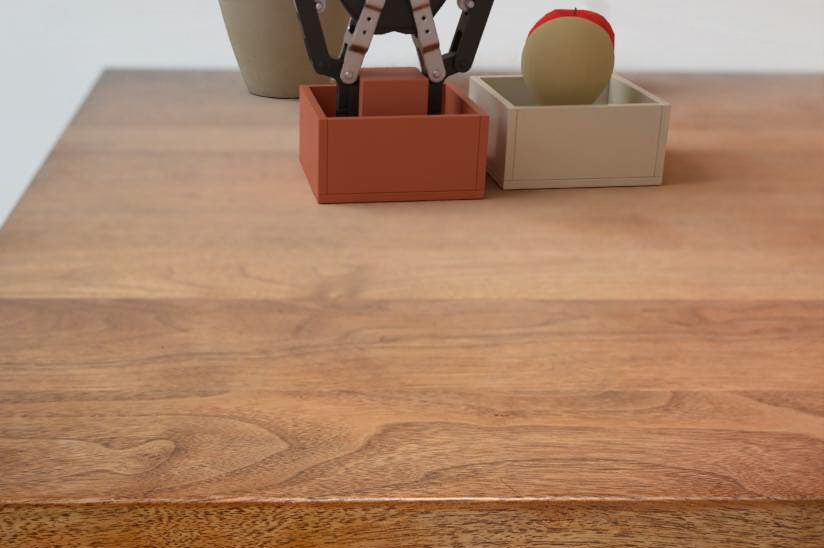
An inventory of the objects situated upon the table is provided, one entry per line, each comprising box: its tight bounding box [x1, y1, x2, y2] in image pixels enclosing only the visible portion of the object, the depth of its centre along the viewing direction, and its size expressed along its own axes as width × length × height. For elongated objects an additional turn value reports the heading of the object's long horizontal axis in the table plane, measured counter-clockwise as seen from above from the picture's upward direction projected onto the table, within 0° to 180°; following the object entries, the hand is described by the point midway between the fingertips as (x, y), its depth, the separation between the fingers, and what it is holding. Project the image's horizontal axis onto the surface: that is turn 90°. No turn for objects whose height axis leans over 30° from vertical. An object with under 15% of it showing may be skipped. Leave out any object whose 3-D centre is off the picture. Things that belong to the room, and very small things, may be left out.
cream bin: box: [468, 72, 672, 191], centre depth 90 cm, size 11×11×6 cm
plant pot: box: [217, 0, 350, 99], centre depth 113 cm, size 15×15×16 cm
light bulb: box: [520, 17, 616, 106], centre depth 89 cm, size 6×6×10 cm
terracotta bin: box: [298, 81, 489, 204], centre depth 87 cm, size 11×11×6 cm
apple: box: [525, 6, 616, 49], centre depth 115 cm, size 8×8×7 cm
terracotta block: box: [357, 66, 429, 117], centre depth 86 cm, size 4×4×4 cm
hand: (387, 133), depth 87 cm, fingers closed on terracotta block, 4 cm apart
